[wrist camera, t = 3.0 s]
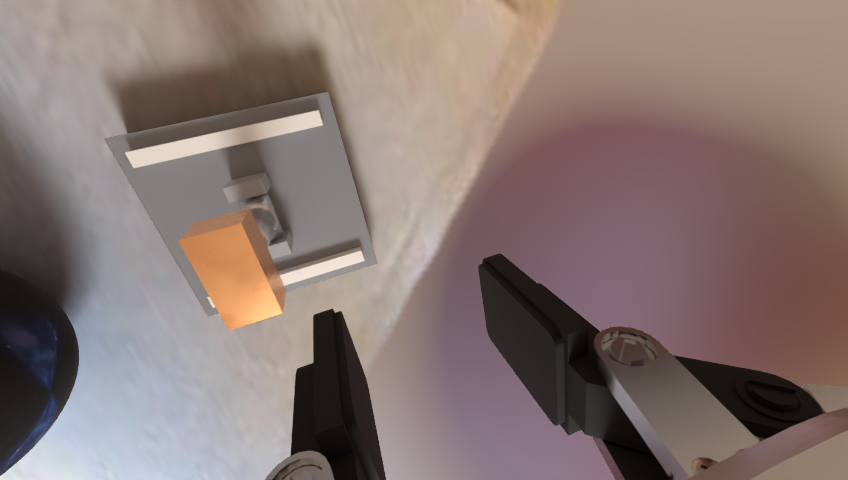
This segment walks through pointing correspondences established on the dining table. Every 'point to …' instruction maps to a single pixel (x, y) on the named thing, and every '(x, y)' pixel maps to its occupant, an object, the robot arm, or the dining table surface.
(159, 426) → the dining table surface
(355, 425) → the robot arm
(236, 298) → the lever
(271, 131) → the switch panel
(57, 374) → the decorative sphere
